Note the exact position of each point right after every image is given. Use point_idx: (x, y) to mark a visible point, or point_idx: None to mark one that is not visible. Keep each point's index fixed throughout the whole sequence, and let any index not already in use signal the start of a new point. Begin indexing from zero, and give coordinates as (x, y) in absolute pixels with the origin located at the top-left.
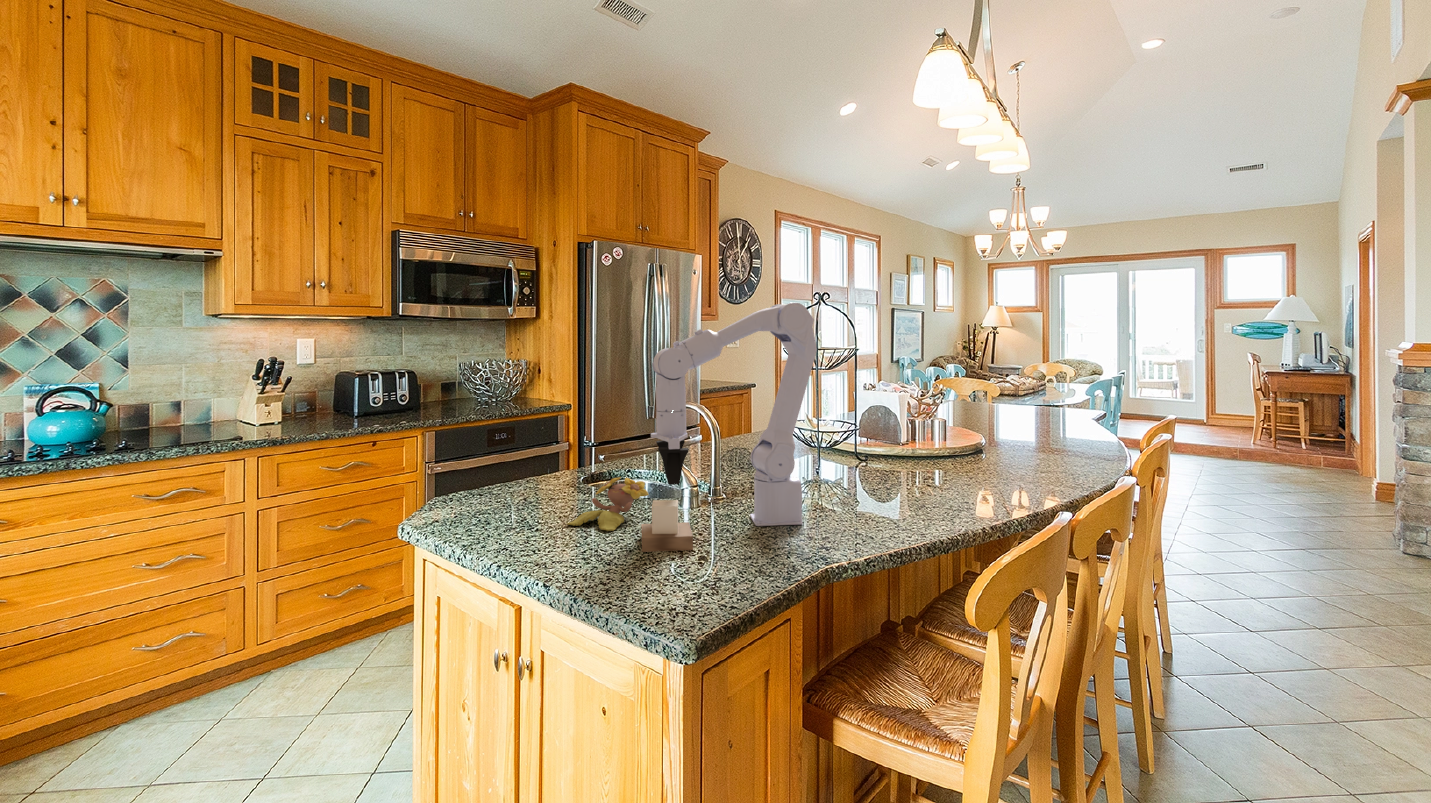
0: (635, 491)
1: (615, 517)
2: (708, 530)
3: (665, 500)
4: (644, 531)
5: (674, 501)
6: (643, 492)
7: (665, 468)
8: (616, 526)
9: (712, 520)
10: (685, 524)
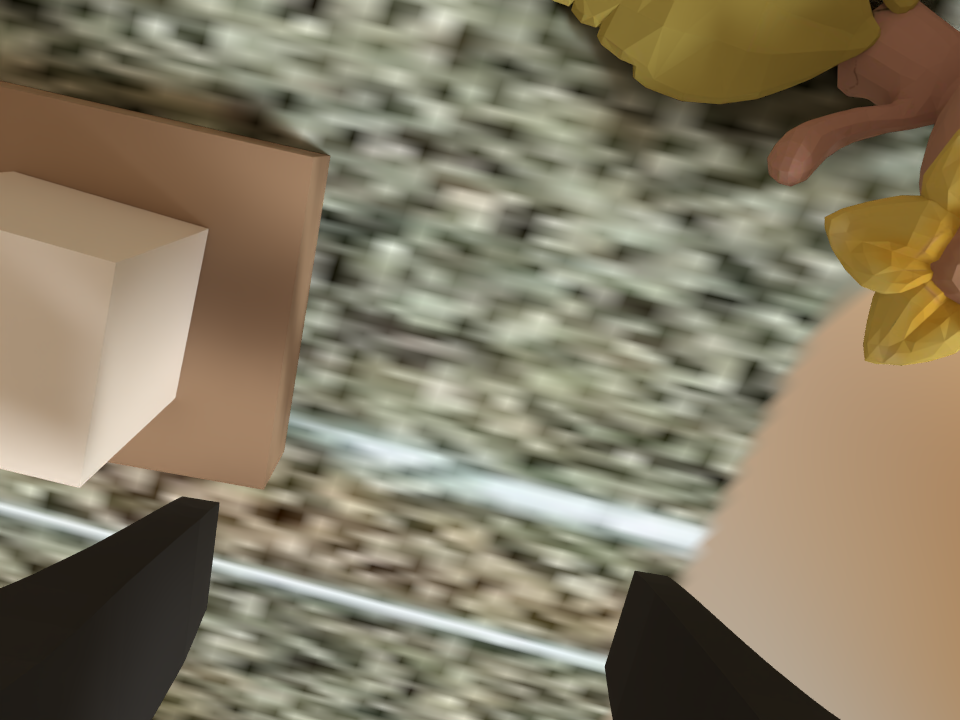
0: (912, 249)
1: (673, 15)
2: (343, 574)
3: (81, 375)
4: (99, 132)
5: (28, 444)
6: (899, 325)
7: (23, 580)
8: (582, 14)
9: (538, 646)
10: (211, 454)
